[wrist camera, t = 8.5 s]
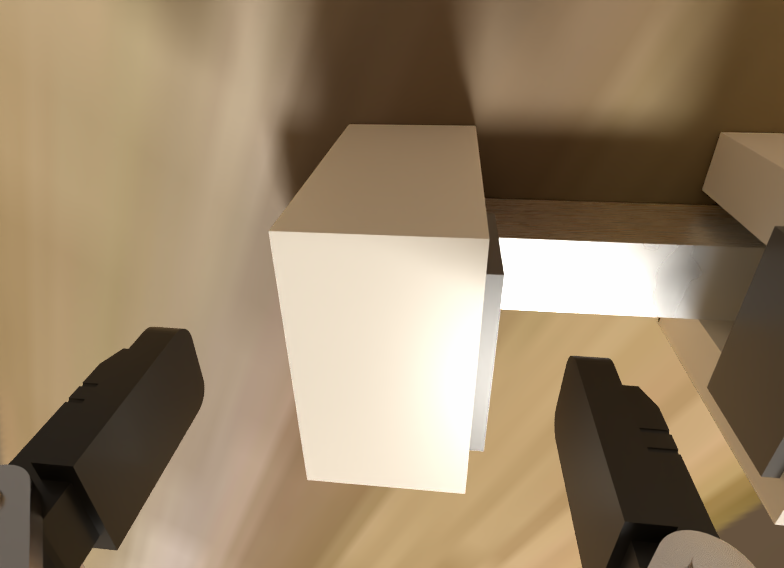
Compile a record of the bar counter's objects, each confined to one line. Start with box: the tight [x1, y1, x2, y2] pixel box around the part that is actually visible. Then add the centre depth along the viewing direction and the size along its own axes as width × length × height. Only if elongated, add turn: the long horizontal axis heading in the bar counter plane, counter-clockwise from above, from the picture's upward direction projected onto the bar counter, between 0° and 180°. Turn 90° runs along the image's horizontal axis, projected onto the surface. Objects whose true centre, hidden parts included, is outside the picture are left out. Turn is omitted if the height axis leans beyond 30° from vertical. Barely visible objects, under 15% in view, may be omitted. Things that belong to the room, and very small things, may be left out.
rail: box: [485, 198, 766, 321], centre depth 16 cm, size 2×17×3 cm, turn 90°
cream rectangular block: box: [269, 124, 505, 494], centre depth 14 cm, size 7×4×8 cm, turn 0°
